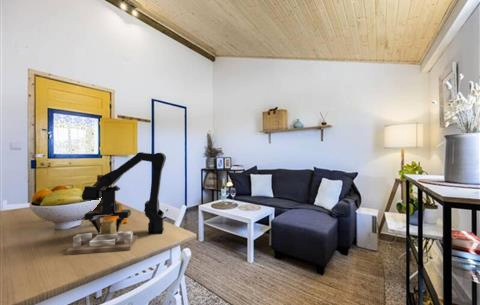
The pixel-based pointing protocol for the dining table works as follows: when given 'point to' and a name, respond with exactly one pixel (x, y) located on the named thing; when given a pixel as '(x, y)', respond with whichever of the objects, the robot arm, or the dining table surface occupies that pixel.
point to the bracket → (115, 216)
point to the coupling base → (102, 242)
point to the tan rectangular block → (108, 227)
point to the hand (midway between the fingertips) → (108, 232)
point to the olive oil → (101, 196)
